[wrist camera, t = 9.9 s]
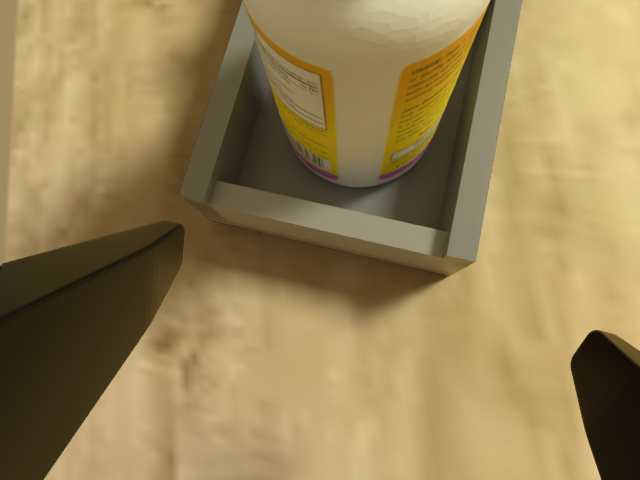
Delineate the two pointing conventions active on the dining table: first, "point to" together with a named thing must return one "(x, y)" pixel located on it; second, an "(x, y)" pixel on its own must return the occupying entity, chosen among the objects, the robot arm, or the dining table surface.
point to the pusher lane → (355, 202)
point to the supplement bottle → (363, 78)
